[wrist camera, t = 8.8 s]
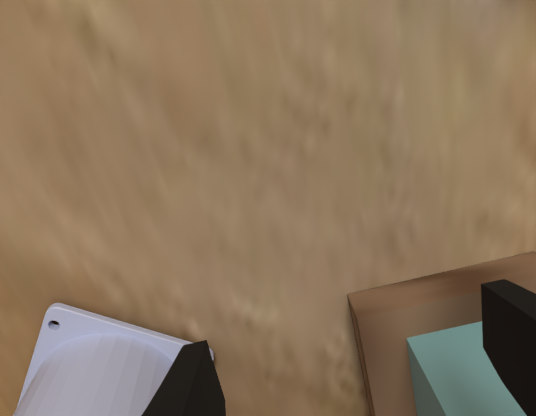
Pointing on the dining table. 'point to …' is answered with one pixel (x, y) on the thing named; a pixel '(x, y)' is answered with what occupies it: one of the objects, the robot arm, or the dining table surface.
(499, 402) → the teal cube
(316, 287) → the dining table surface
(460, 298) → the walnut base
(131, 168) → the dining table surface
